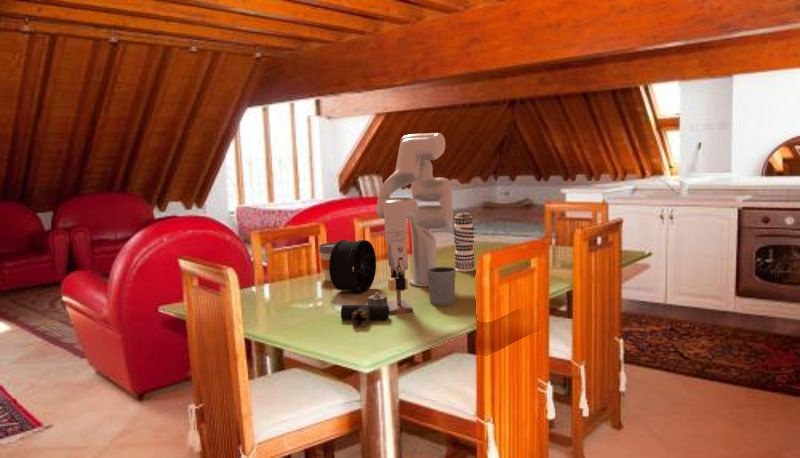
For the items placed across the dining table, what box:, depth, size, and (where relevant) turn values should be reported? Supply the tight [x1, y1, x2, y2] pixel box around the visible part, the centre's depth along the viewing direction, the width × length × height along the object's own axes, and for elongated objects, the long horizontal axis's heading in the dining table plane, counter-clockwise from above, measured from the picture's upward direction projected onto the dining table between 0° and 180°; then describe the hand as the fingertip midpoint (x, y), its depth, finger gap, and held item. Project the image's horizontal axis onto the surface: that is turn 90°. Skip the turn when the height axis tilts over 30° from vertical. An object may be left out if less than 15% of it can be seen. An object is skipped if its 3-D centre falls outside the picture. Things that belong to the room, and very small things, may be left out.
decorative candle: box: [453, 212, 475, 272], centre depth 282 cm, size 9×9×25 cm
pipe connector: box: [340, 304, 390, 327], centre depth 206 cm, size 12×5×15 cm
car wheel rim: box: [329, 239, 377, 293], centre depth 250 cm, size 20×10×20 cm, turn 156°
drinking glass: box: [427, 266, 456, 306], centre depth 226 cm, size 10×10×12 cm
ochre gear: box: [387, 276, 409, 292], centre depth 220 cm, size 6×6×4 cm
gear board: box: [364, 291, 414, 316], centre depth 220 cm, size 14×13×6 cm
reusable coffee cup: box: [318, 241, 338, 282], centre depth 274 cm, size 12×13×15 cm
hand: (398, 287), depth 220 cm, fingers closed on ochre gear, 6 cm apart
